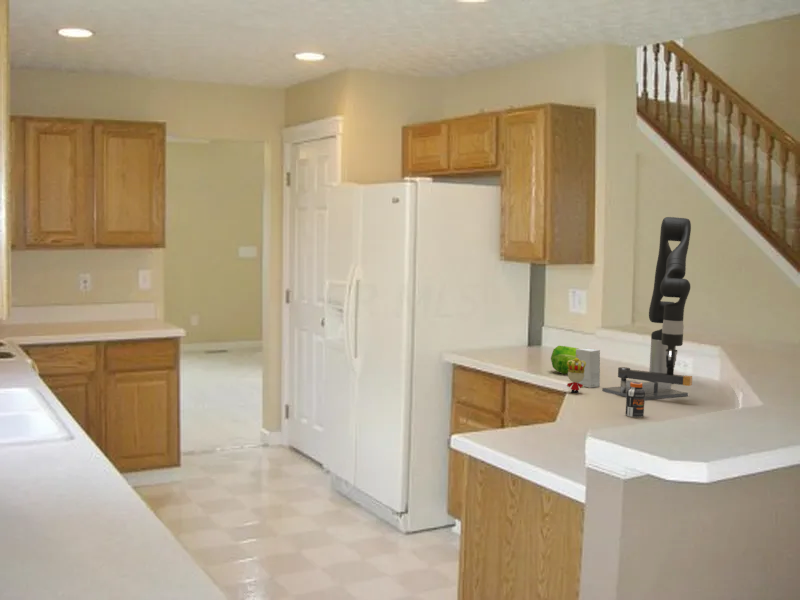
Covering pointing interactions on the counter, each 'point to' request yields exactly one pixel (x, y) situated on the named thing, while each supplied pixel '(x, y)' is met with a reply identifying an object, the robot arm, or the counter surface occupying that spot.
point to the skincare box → (590, 366)
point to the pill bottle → (635, 400)
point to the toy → (575, 374)
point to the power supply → (647, 385)
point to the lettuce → (562, 358)
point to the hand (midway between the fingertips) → (669, 378)
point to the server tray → (648, 396)
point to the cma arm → (654, 376)
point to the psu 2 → (661, 386)
